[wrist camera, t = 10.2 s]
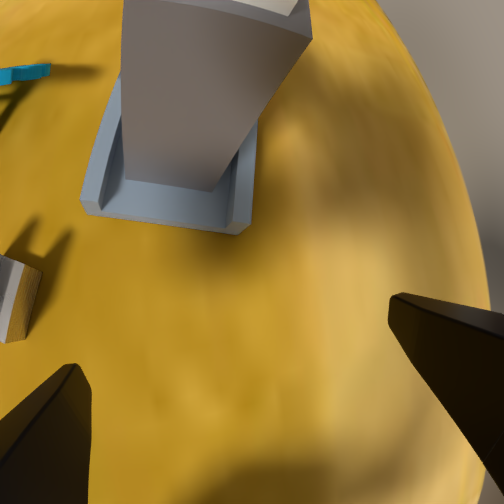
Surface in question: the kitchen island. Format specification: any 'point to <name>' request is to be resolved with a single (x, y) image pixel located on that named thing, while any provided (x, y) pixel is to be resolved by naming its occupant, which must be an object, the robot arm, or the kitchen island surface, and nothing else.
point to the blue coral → (24, 73)
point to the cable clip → (16, 298)
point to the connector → (201, 81)
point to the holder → (163, 196)
